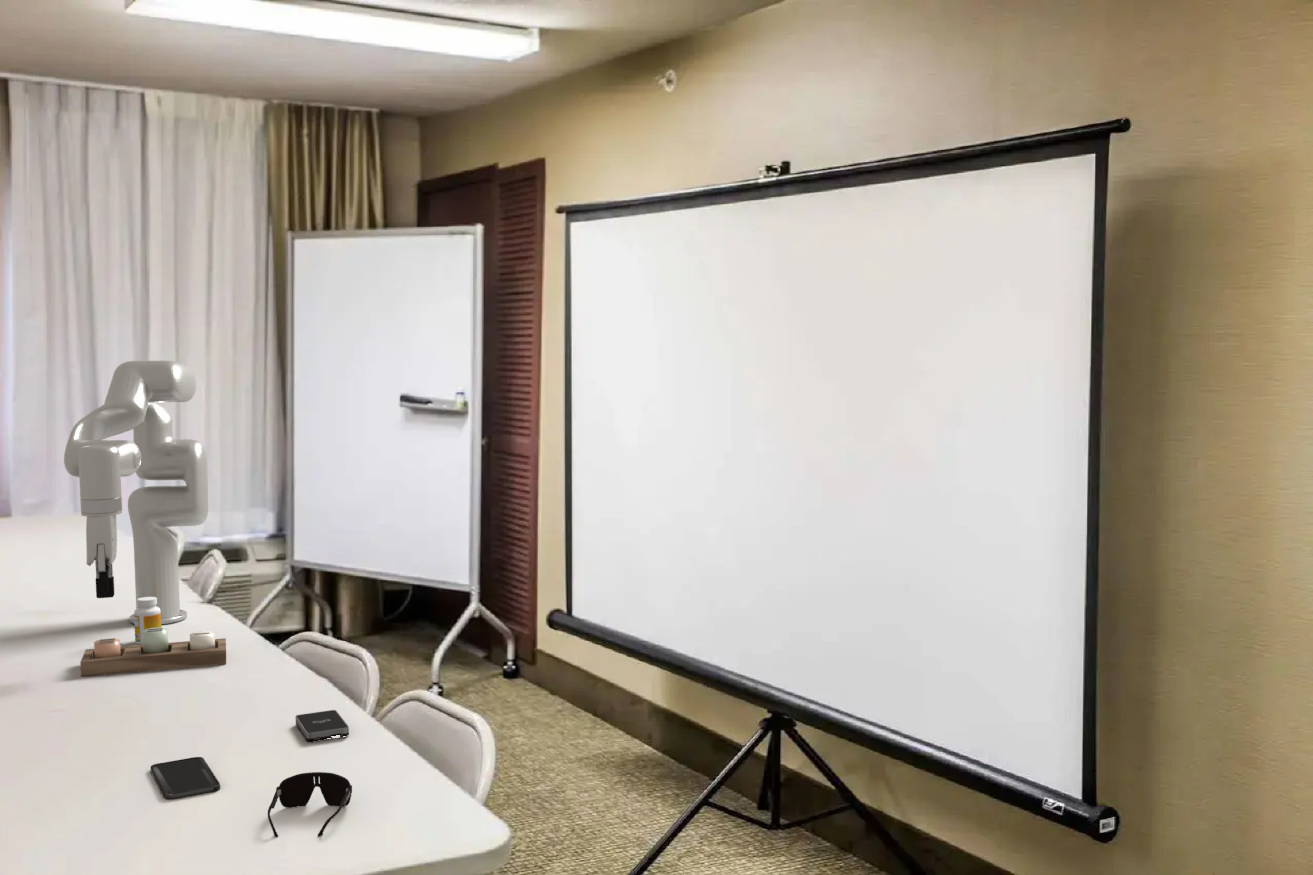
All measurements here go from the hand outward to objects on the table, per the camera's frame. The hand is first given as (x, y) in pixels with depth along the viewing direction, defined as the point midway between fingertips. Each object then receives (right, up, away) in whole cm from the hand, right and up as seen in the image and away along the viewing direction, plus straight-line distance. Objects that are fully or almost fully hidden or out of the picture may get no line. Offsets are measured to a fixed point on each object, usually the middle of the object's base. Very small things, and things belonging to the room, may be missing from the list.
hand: (105, 596), depth 247 cm
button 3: (0, -13, +1) cm, 13 cm away
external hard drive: (+54, -18, -38) cm, 69 cm away
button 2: (+9, -11, +4) cm, 15 cm away
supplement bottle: (0, -13, +22) cm, 25 cm away
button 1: (+17, -13, +7) cm, 22 cm away
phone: (+39, -20, -61) cm, 76 cm away
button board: (+9, -14, +4) cm, 17 cm away
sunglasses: (+62, -22, -77) cm, 101 cm away
